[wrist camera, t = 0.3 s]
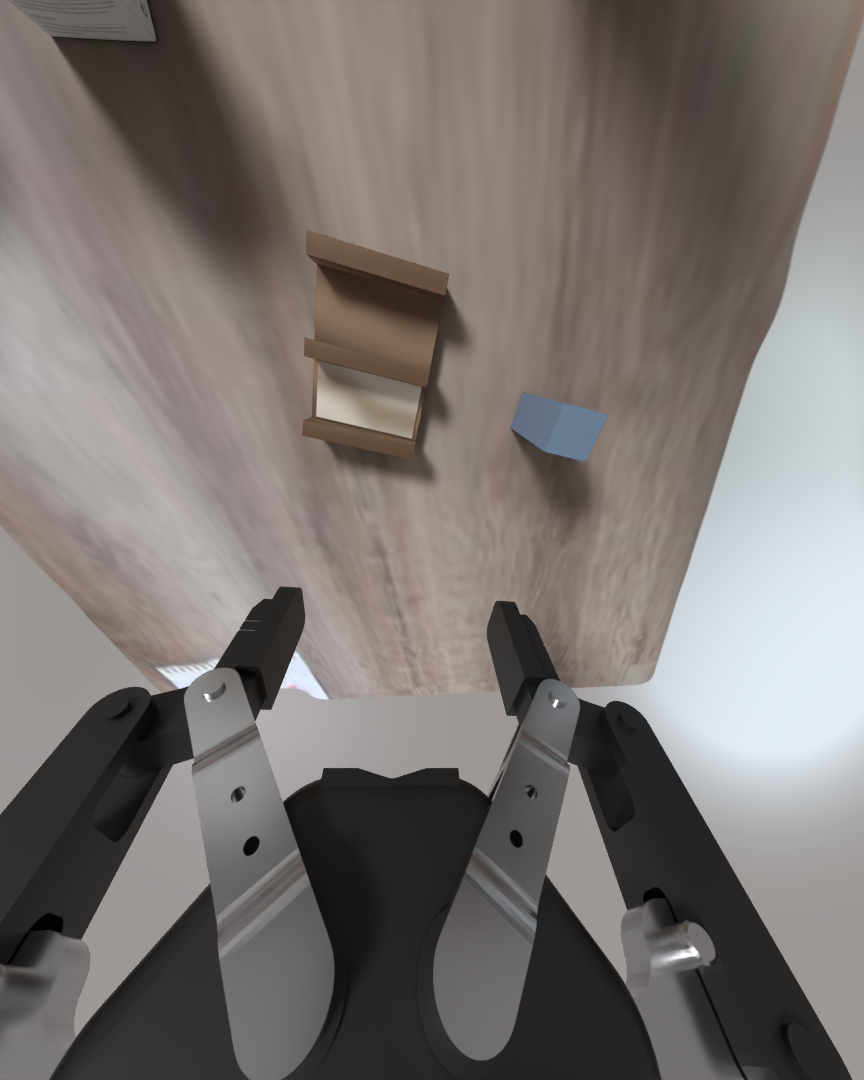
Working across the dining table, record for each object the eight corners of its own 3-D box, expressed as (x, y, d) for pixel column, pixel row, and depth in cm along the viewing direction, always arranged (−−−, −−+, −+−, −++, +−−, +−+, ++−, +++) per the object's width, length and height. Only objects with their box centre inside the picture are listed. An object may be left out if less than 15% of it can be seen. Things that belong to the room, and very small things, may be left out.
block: (522, 392, 35) (564, 403, 25) (554, 400, 36) (608, 414, 25) (510, 427, 37) (544, 451, 27) (540, 435, 38) (585, 461, 27)
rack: (322, 248, 29) (306, 229, 25) (446, 286, 30) (449, 274, 26) (315, 428, 36) (302, 435, 33) (413, 450, 38) (412, 459, 34)
